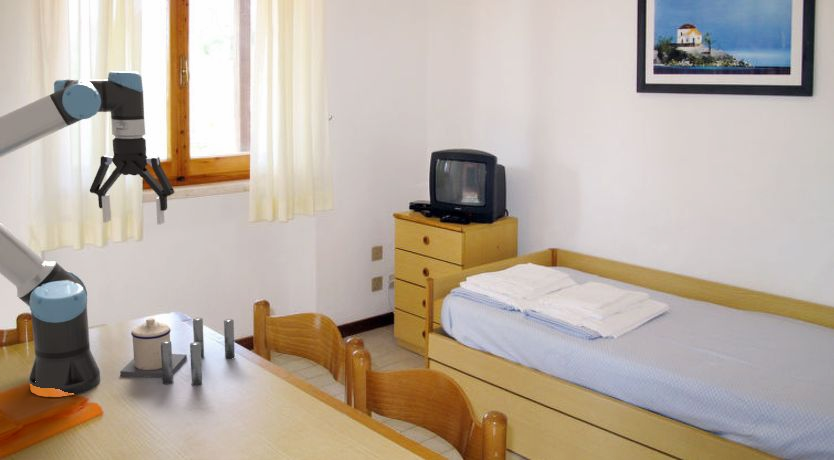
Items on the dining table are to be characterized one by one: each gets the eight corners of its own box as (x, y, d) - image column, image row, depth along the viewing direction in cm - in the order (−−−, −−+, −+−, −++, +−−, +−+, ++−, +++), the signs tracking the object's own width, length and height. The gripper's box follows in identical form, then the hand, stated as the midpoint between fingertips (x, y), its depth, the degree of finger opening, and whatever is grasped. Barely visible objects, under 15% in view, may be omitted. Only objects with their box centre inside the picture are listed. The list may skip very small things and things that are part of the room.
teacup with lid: (179, 363, 194) (177, 318, 191) (146, 374, 187) (143, 328, 184) (153, 350, 201) (150, 307, 199) (120, 360, 195) (116, 316, 192)
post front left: (161, 384, 185) (158, 344, 183) (164, 379, 187) (162, 340, 185) (171, 384, 185) (169, 344, 183) (174, 380, 187) (172, 340, 185)
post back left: (193, 357, 201) (191, 320, 198) (196, 354, 203) (194, 317, 201) (202, 358, 201) (200, 321, 198) (205, 354, 203) (203, 317, 201)
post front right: (190, 385, 185) (188, 345, 182) (193, 381, 187) (192, 341, 185) (200, 386, 184) (198, 346, 182) (203, 381, 187) (202, 342, 184)
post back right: (223, 359, 200) (222, 322, 198) (226, 355, 203) (225, 318, 200) (233, 359, 200) (232, 322, 198) (235, 356, 203) (234, 319, 200)
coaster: (120, 375, 189) (120, 371, 189) (140, 356, 201) (140, 352, 200) (169, 378, 188) (169, 373, 188) (186, 359, 200) (186, 354, 200)
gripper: (71, 136, 187) (77, 223, 192) (173, 139, 185) (177, 227, 190) (85, 133, 194) (92, 217, 199) (185, 136, 193) (188, 220, 198)
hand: (134, 222), depth 195 cm, fingers open, 13 cm apart
